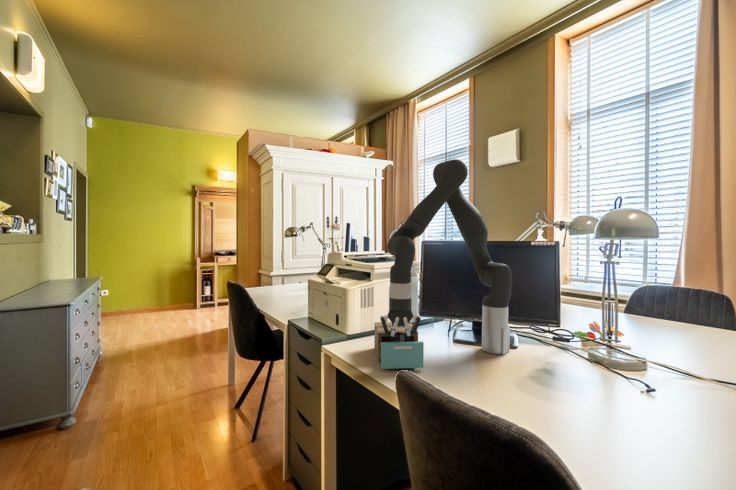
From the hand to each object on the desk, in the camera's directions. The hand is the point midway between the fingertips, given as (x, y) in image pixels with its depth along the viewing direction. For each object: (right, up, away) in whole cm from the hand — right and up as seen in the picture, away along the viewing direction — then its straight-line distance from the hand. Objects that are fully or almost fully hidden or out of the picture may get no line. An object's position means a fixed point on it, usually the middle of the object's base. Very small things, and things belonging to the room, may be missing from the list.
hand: (400, 346), depth 121 cm
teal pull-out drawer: (0, -5, +1) cm, 6 cm away
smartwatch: (-1, 0, 0) cm, 1 cm away
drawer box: (-1, -6, +11) cm, 13 cm away
